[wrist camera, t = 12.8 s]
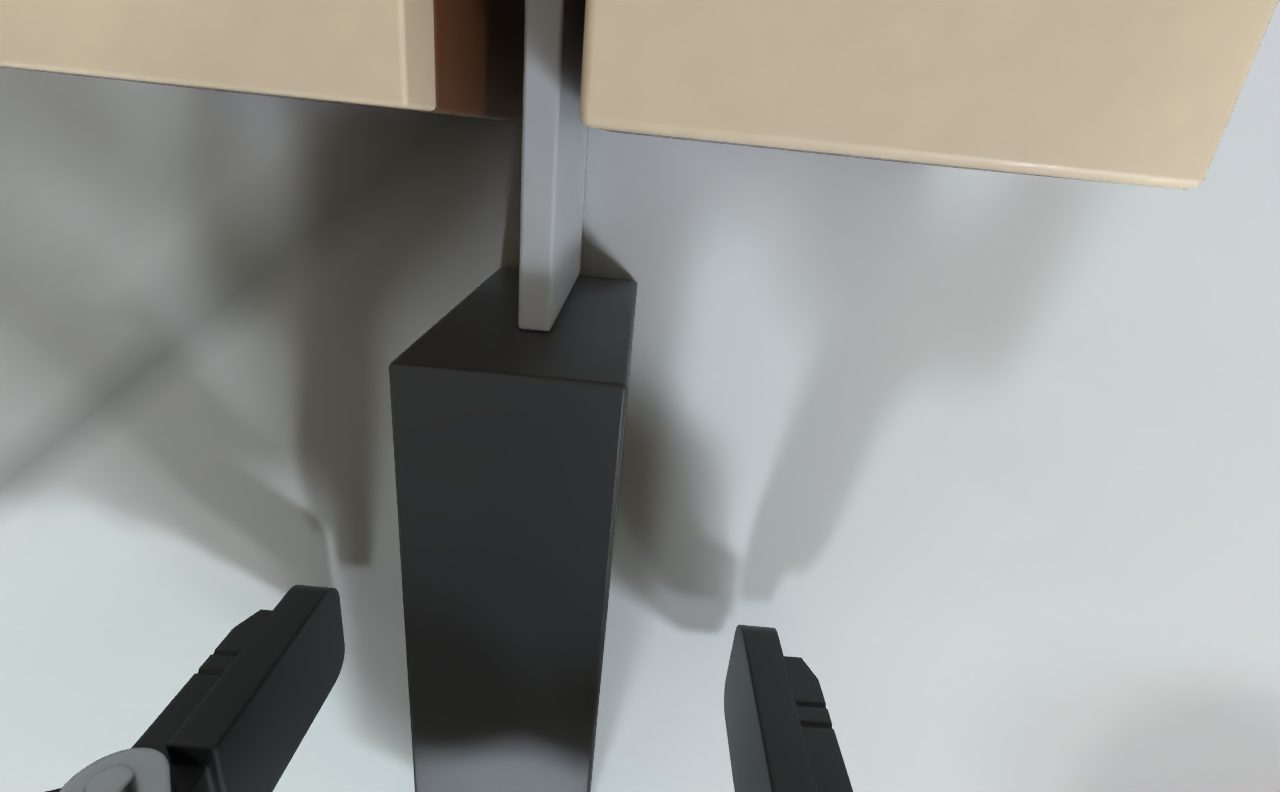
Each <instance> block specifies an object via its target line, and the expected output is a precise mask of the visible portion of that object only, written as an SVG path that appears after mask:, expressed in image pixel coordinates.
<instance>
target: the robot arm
mask: <svg viewBox="0 0 1280 792" xmlns="http://www.w3.org/2000/svg"><path fill="white" fill-rule="evenodd" d="M344 653H345V644H344V635H343V625H342V616H341V606H340V597H339V593H338V591H337V589H335V588H328V587H316V586H305V585H295V586H293V587H292V588H291V589H290V590H289V591H288V592H287V593H286V595H285V596H284V597H283V598H282V600H281V601H280V602H279V603H278V605H277V606H276V607H275V608H274V610H273V611H272V610H260V611H258V612H257V613H255V614H254V615H252V616H251V617H249V618H248V619H246V620H245V621H243V622H242V623H240V624H239V625H237V626H236V627H234V628H233V629H232V631H231V632H230V633H229V634H228V635H227V636H226V638H225V639H224V640H223V641H222V642H221V643H220V645H219V646H218V647H217V648H216V649H215V652H214V654H213V655H210V656H209V658H208V659H207V660H206V661H205V662H204V663H203V665H202V666H201V667H200V668H199V672H198V673H197V674H194V675H193V676H192V678H191V679H190V680H189V681H188V682H187V683H186V685H185V686H184V687H183V688H182V689H181V691H180V692H179V693H178V694H177V695H176V696H175V698H174V699H173V700H172V701H171V702H170V703H169V705H168V706H167V707H166V708H165V709H164V711H163V712H162V713H161V714H160V715H159V716H158V718H157V719H156V720H155V721H154V722H153V724H152V725H151V726H150V727H149V728H148V729H147V731H146V732H145V733H144V734H143V735H142V736H141V738H140V739H139V740H138V741H137V742H136V743H135V745H134V746H133V747H132V748H131V749H126V750H122V751H119V752H116V753H113V754H110V755H108V756H105V757H103V758H101V759H99V760H97V761H95V762H93V763H92V764H90V765H89V766H87V767H85V768H84V769H82V770H81V771H80V772H78V773H77V774H76V775H75V776H73V777H72V778H71V779H70V780H69V781H68V782H67V783H66V784H65V785H64V786H63V787H62V788H60V789H56V790H51V791H46V792H272V791H273V790H274V788H275V786H276V784H277V783H278V781H279V779H280V777H281V776H282V774H283V772H284V771H285V769H286V767H287V765H288V764H289V762H290V760H291V758H292V757H293V755H294V753H295V752H296V750H297V748H298V746H299V745H300V743H301V741H302V739H303V738H304V736H305V734H306V732H307V731H308V729H309V727H310V726H311V724H312V722H313V720H314V719H315V717H316V715H317V713H318V712H319V710H320V708H321V707H322V705H323V703H324V701H325V700H326V698H327V696H328V694H329V693H330V691H331V689H332V687H333V686H334V684H335V682H336V680H337V678H338V676H339V674H340V671H341V668H342V664H343V660H344ZM724 711H725V720H726V728H727V736H728V743H729V751H730V759H731V766H732V774H733V782H734V789H735V792H853V790H852V787H851V783H850V780H849V777H848V774H847V771H846V767H845V764H844V761H843V758H842V754H841V751H840V748H839V745H838V742H837V738H836V735H835V732H834V729H832V722H831V719H830V716H829V713H828V710H827V709H826V703H825V700H824V697H823V693H822V690H821V687H820V684H819V681H818V679H817V677H816V676H815V675H814V674H813V672H812V671H811V670H810V668H809V667H808V666H807V665H806V663H805V662H804V661H803V659H802V658H798V657H786V656H783V653H782V649H781V645H780V641H779V637H778V634H777V631H776V629H775V628H769V627H758V626H746V625H738V626H737V628H736V631H735V636H734V641H733V646H732V651H731V656H730V661H729V666H728V671H727V676H726V681H725V691H724Z"/></svg>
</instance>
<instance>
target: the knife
mask: <svg viewBox="0 0 1280 792" xmlns="http://www.w3.org/2000/svg"><path fill="white" fill-rule="evenodd" d="M585 4H586V0H525V25H524V73H523V120H522V168H521V216H520V263H519V270H516V269H505V268H500V269H499V270H497V271H496V272H495V273H494V274H493V275H492V276H490V277H489V278H488V279H487V280H486V281H485V282H484V283H482V284H481V285H480V286H479V287H478V288H477V289H475V290H474V291H473V292H472V293H471V294H470V295H469V296H467V297H466V298H465V299H464V300H463V301H462V302H460V303H459V304H458V305H457V306H456V307H455V308H454V309H452V310H451V311H450V312H449V313H448V314H447V315H446V316H444V317H443V318H442V319H441V320H440V321H439V322H437V323H436V324H435V325H434V326H433V327H432V328H431V329H429V330H428V331H427V332H426V333H425V334H424V335H422V336H421V337H420V338H419V339H418V340H417V341H416V342H414V343H413V344H412V345H411V346H410V347H409V348H407V349H406V350H405V351H404V352H403V353H402V354H401V355H399V356H398V357H397V358H396V359H395V360H394V361H392V362H391V363H390V365H389V377H390V393H391V409H392V426H393V442H394V458H395V474H396V490H397V506H398V523H399V539H400V555H401V571H402V587H403V603H404V619H405V636H406V652H407V668H408V684H409V700H410V716H411V733H412V749H413V765H414V781H415V792H590V790H591V779H592V768H593V758H594V747H595V736H596V726H597V715H598V704H599V694H600V683H601V672H602V662H603V651H604V640H605V630H606V619H607V608H608V598H609V587H610V576H611V566H612V555H613V544H614V534H615V523H616V512H617V502H618V491H619V480H620V470H621V459H622V448H623V438H624V427H625V416H626V406H627V395H628V384H629V373H630V361H631V350H632V339H633V327H634V316H635V304H636V293H637V282H635V281H629V280H619V279H608V278H598V277H588V276H579V274H580V263H581V245H582V228H583V211H584V193H585V176H586V159H587V142H588V126H587V125H585V124H583V123H582V120H581V117H580V96H581V77H582V59H583V41H584V23H585Z"/></svg>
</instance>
